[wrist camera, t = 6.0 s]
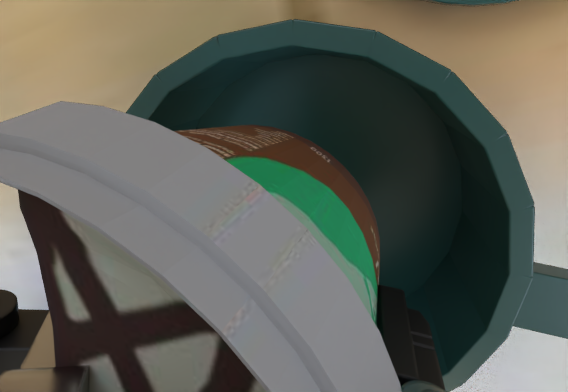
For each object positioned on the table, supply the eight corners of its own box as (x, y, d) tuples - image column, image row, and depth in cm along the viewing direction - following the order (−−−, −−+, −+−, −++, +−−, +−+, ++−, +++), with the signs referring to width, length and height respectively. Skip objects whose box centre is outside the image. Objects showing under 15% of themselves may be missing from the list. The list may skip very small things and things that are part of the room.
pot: (131, 9, 20) (21, -20, 13) (592, 75, 17) (733, 80, 10) (130, 283, 25) (52, 355, 19) (473, 368, 22) (518, 487, 16)
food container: (399, 394, 16) (373, 838, 7) (260, 361, 18) (93, 672, 9) (433, 82, 12) (485, 139, 3) (249, 82, 14) (-84, 115, 5)
